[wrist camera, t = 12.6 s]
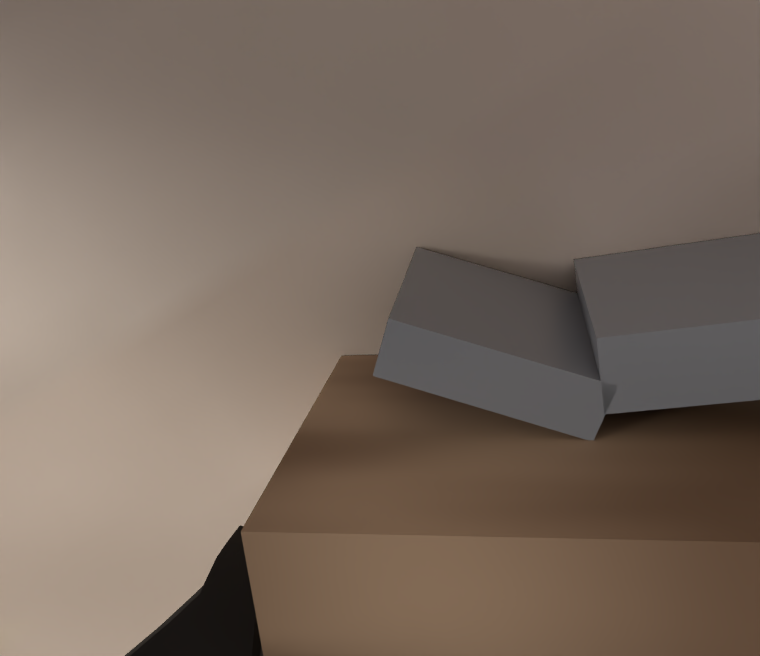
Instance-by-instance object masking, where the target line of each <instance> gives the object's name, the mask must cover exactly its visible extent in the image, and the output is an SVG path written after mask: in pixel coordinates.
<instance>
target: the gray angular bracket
mask: <svg viewBox="0 0 760 656" xmlns="http://www.w3.org/2000/svg"><path fill="white" fill-rule="evenodd" d="M574 267H575V276H576V286H577V293H574V292H571V291H567V290H564V289H560V288H557V287H553V286H550V285H546V284H543V283H540V282H536V281H533V280H529V279H526V278H522V277H519V276H515V275H512V274H509V273H505V272H502V271H498V270H495V269H491V268H488V267H484V266H481V265H478V264H474V263H471V262H467V261H464V260H460V259H457V258H453V257H450V256H447V255H443V254H440V253H436V252H433V251H429V250H426V249H422V248H419V247H416V250H415V252H414V255H413V258H412V260H411V263H410V265H409V268H408V270H407V273H406V275H405V278H404V280H403V283H402V285H401V288H400V291H399V293H398V296H397V298H396V301H395V303H394V306H393V308H392V311H391V313H390V316H389V318H388V322H387V326H386V329H385V333H384V336H383V340H382V344H381V347H380V351H379V354H378V358H377V362H376V365H375V369H374V372H373V376H375V377H378V378H382V379H385V380H388V381H392V382H395V383H398V384H402V385H405V386H408V387H412V388H415V389H418V390H422V391H425V392H428V393H432V394H435V395H438V396H442V397H445V398H448V399H452V400H455V401H458V402H462V403H465V404H468V405H472V406H475V407H478V408H482V409H485V410H488V411H492V412H495V413H498V414H502V415H505V416H508V417H512V418H515V419H518V420H522V421H525V422H528V423H532V424H535V425H538V426H542V427H545V428H548V429H552V430H555V431H558V432H562V433H565V434H568V435H572V436H575V437H578V438H582V439H585V440H594V439H595V437H596V434H597V432H598V430H599V428H600V426H601V423H602V421H603V419H604V417H605V414H614V413H625V412H636V411H646V410H657V409H668V408H678V407H689V406H700V405H711V404H721V403H732V402H743V401H754V400H760V233H759V234H752V235H745V236H738V237H730V238H723V239H716V240H709V241H702V242H695V243H688V244H681V245H674V246H666V247H659V248H652V249H645V250H638V251H631V252H624V253H617V254H609V255H602V256H595V257H588V258H581V259H574Z"/></svg>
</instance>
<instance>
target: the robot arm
mask: <svg viewBox="0 0 760 656" xmlns="http://www.w3.org/2000/svg"><path fill="white" fill-rule="evenodd" d="M243 527H244V526H239V527H238V529H237V530H236V531H235V533H234V534H233V535H232V536H231V538H230V539H229V540H228V542H227V543H226V545H225V546H224V547H223V549H222V550H221V552H220V553H219V555H218V556H217V558H216V560H215V562H214V564H213V566H212V568H211V571H210V573H209V575H208V577H207V579H206V581H205V583H204V585H203V586H202V587H201V588H200V589H199V590H198V591H197V592H196V593H195V594H194V595H193V596H192V597H191V598H190V599H189V600H188V601H187V602H185V603H184V604H183V605H182V606H181V607H180V608H179V609H178V610H177V611H176V612H175V613H174V614H173V615H172V616H170V617H169V618H168V619H167V620H166V621H165V622H164V623H163V624H162V625H161V626H159V627H158V628H157V629H156V630H155V631H154V632H152V633H151V634H150V635H149V636H148V637H146V638H145V639H144V640H143V641H142V642H141V643H139V644H138V645H137V646H136V647H135V648H133V649H132V650H131V651H130V652H129V653H127V654H126V655H125V656H263V651H262V646H261V640H260V635H259V629H258V624H257V618H256V613H255V607H254V602H253V596H252V591H251V586H250V580H249V575H248V569H247V564H246V558H245V553H244V547H243V542H242V536H241V530H242V528H243Z"/></svg>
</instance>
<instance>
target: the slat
mask: <svg viewBox="0 0 760 656" xmlns="http://www.w3.org/2000/svg"><path fill="white" fill-rule="evenodd" d="M377 358H378V355H354V356H341V358H340V359H339V361H338V363H337V365H336V366H335V368H334V370H333V372H332V373H331V375H330V377H329V379H328V380H327V382H326V384H325V385H324V387H323V389H322V391H321V392H320V394H319V396H318V398H317V399H316V401H315V403H314V405H313V406H312V408H311V410H310V412H309V413H308V415H307V417H306V419H305V420H304V422H303V424H302V426H301V427H300V429H299V431H298V433H297V434H296V436H295V438H294V440H293V441H292V443H291V445H290V446H289V448H288V450H287V452H286V453H285V455H284V457H283V459H282V460H281V462H280V464H279V466H278V467H277V469H276V471H275V473H274V474H273V476H272V478H271V480H270V481H269V483H268V485H267V487H266V488H265V490H264V492H263V494H262V495H261V497H260V499H259V501H258V502H257V504H256V506H255V507H254V509H253V511H252V513H251V514H250V516H249V518H248V520H247V521H246V523H245V525H244V527H243V528H242V530H241V536H242V542H243V547H244V553H245V558H246V564H247V569H248V575H249V580H250V586H251V591H252V596H253V602H254V607H255V613H256V618H257V624H258V629H259V635H260V640H261V646H262V651H263V656H760V400H754V401H743V402H732V403H721V404H711V405H700V406H689V407H678V408H668V409H657V410H646V411H636V412H625V413H614V414H605V417H604V419H603V421H602V423H601V426H600V428H599V430H598V432H597V434H596V437H595V439H594V440H585V439H582V438H578V437H575V436H572V435H568V434H565V433H562V432H558V431H555V430H552V429H548V428H545V427H542V426H538V425H535V424H532V423H528V422H525V421H522V420H518V419H515V418H512V417H508V416H505V415H502V414H498V413H495V412H492V411H488V410H485V409H482V408H478V407H475V406H472V405H468V404H465V403H462V402H458V401H455V400H452V399H448V398H445V397H442V396H438V395H435V394H432V393H428V392H425V391H422V390H418V389H415V388H412V387H408V386H405V385H402V384H398V383H395V382H392V381H388V380H385V379H382V378H378V377H375V376H373V372H374V369H375V365H376V362H377Z"/></svg>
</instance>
